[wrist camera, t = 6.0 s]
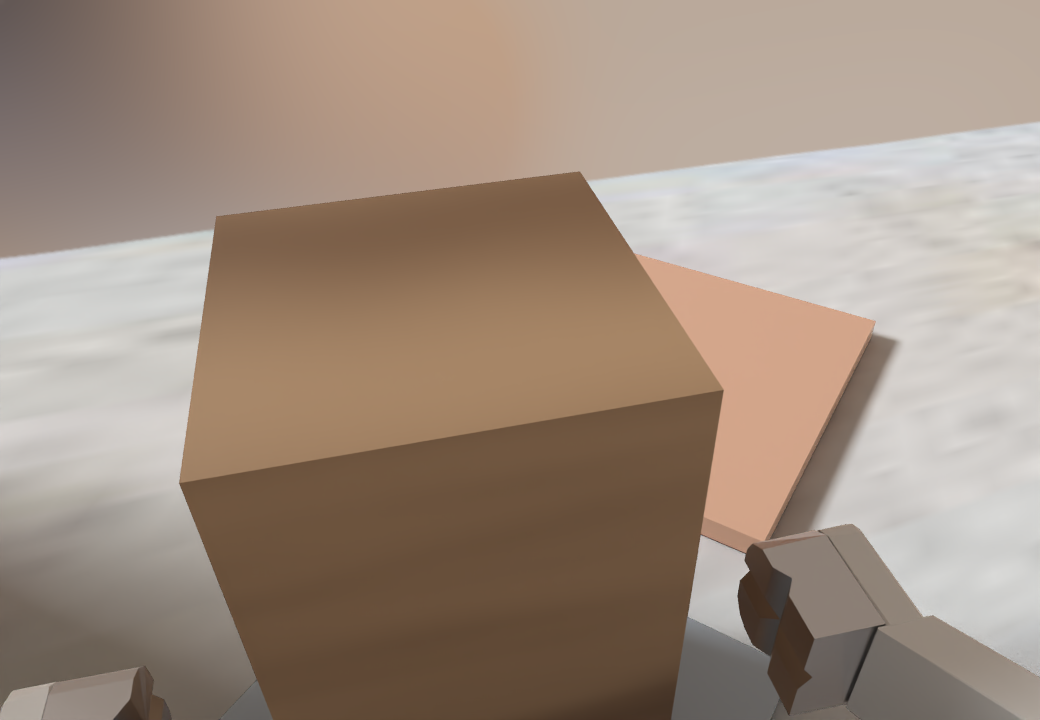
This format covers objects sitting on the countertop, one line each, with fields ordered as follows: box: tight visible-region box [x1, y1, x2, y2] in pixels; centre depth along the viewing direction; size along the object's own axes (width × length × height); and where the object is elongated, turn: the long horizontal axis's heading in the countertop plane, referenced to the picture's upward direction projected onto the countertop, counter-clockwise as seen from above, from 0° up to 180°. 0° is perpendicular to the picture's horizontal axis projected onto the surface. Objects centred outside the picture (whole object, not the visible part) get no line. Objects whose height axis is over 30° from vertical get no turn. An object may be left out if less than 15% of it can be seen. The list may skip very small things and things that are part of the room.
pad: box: [635, 254, 876, 553], centre depth 24 cm, size 10×10×1 cm
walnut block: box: [179, 172, 724, 720], centre depth 13 cm, size 5×5×10 cm
